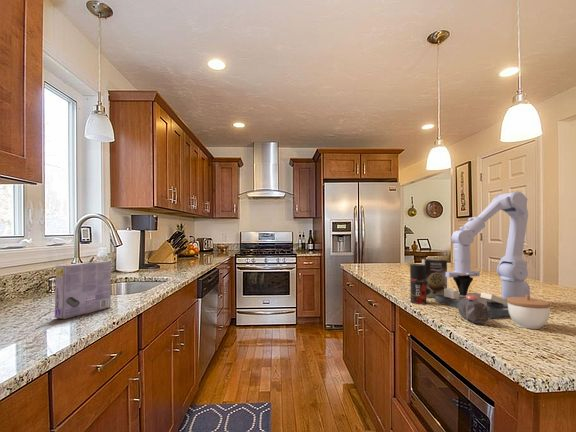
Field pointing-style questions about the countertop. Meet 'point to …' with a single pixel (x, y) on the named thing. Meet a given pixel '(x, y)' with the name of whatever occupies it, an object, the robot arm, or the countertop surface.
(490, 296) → the beige rectangular block
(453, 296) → the fader knob
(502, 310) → the panel
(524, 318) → the lidded jar
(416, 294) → the deodorant
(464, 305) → the perforated stone tool
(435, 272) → the coffee box
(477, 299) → the button
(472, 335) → the countertop surface
